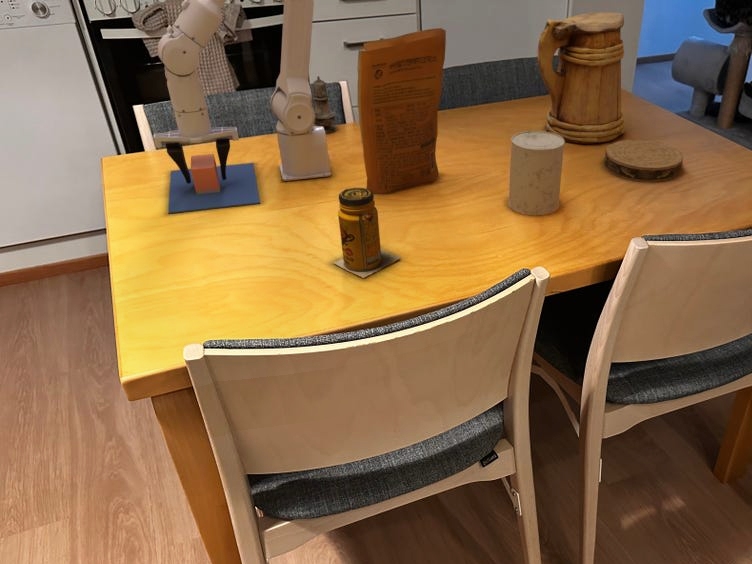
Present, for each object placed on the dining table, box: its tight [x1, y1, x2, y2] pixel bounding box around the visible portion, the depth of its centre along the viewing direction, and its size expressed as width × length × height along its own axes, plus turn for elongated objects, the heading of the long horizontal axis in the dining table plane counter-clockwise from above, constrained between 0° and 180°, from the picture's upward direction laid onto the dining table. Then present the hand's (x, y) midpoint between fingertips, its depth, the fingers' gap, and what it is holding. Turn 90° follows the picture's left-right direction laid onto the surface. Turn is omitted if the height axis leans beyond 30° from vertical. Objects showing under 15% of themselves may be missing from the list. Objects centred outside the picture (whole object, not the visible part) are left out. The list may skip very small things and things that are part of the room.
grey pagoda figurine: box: [312, 75, 337, 134], centre depth 158 cm, size 6×6×12 cm
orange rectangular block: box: [190, 153, 220, 195], centre depth 133 cm, size 4×7×5 cm, turn 18°
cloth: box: [167, 162, 261, 215], centre depth 134 cm, size 16×20×1 cm
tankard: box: [537, 11, 626, 145], centre depth 155 cm, size 18×24×25 cm
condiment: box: [332, 187, 402, 279], centre depth 109 cm, size 7×8×12 cm
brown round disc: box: [603, 139, 684, 183], centre depth 146 cm, size 16×16×3 cm
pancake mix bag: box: [356, 27, 447, 195], centre depth 129 cm, size 7×19×28 cm, turn 125°
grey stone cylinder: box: [507, 130, 566, 216], centre depth 127 cm, size 10×10×12 cm
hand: (206, 179), depth 133 cm, fingers open, 6 cm apart
